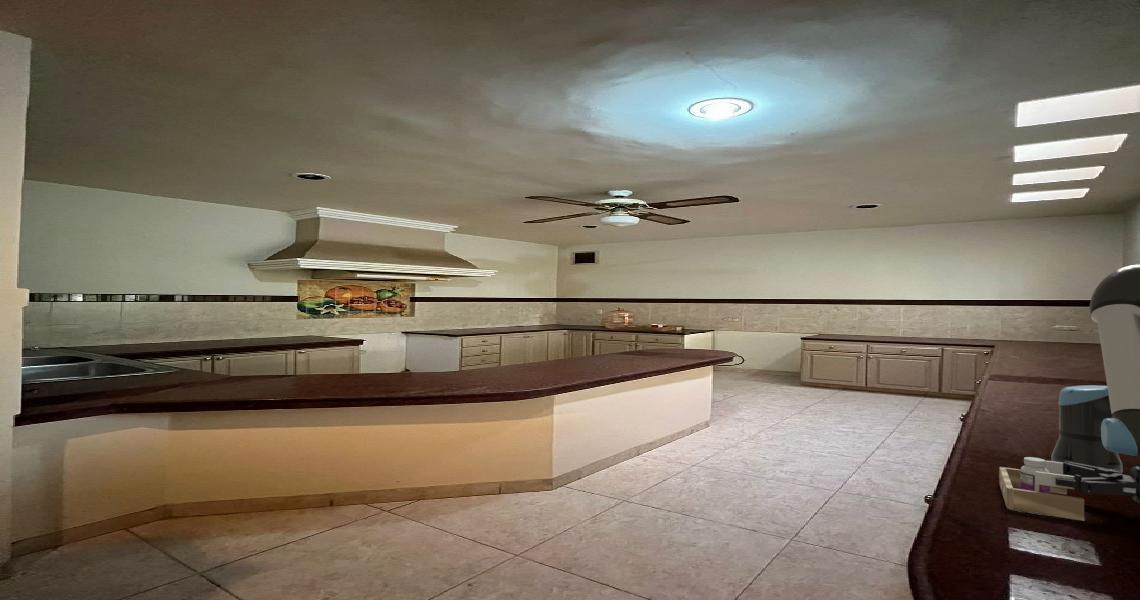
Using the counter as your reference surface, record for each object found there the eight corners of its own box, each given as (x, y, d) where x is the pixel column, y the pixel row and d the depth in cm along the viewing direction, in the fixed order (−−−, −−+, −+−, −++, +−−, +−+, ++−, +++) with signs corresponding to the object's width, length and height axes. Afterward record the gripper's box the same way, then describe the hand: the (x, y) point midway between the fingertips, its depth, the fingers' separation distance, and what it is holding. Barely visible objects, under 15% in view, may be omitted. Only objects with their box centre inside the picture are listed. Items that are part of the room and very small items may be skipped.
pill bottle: (1045, 498, 135) (1045, 457, 135) (1053, 505, 130) (1053, 463, 130) (1017, 495, 137) (1017, 455, 137) (1024, 501, 132) (1024, 460, 132)
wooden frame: (999, 483, 146) (999, 466, 146) (1065, 493, 139) (1065, 475, 139) (1006, 508, 128) (1006, 488, 128) (1084, 520, 120) (1084, 499, 121)
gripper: (1178, 522, 112) (1039, 501, 123) (1141, 489, 132) (1025, 474, 144) (1178, 483, 112) (1039, 466, 123) (1141, 457, 133) (1025, 444, 144)
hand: (1031, 470), depth 134 cm, fingers open, 13 cm apart
